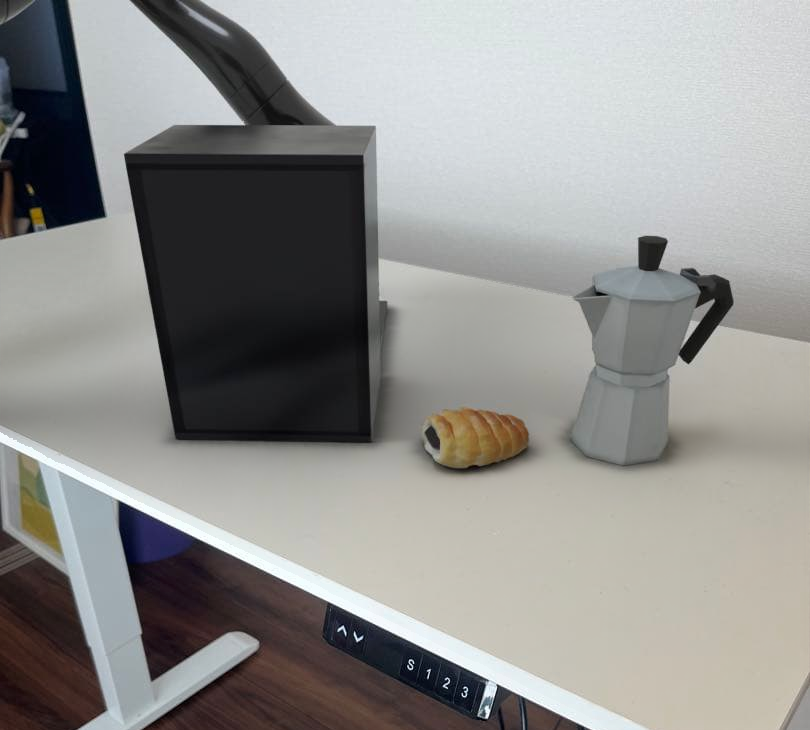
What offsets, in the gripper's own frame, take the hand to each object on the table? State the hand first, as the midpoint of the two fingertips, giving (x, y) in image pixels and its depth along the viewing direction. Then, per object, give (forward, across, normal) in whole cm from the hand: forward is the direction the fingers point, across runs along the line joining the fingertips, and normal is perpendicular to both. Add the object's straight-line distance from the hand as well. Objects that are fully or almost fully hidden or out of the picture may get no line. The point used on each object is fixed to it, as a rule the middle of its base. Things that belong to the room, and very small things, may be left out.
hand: (271, 242), depth 72 cm
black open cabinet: (-10, 0, +15) cm, 19 cm away
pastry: (+9, +18, +16) cm, 25 cm away
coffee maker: (+6, +32, +16) cm, 37 cm away
